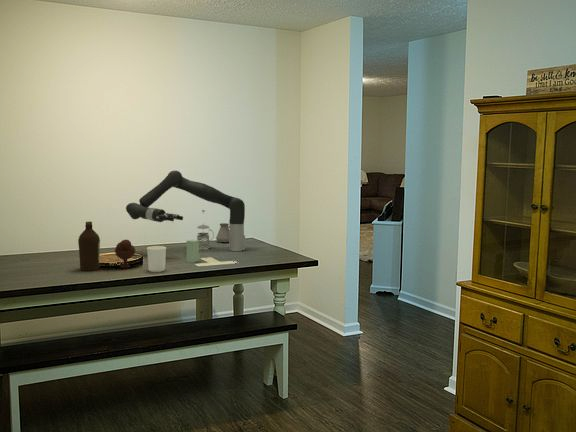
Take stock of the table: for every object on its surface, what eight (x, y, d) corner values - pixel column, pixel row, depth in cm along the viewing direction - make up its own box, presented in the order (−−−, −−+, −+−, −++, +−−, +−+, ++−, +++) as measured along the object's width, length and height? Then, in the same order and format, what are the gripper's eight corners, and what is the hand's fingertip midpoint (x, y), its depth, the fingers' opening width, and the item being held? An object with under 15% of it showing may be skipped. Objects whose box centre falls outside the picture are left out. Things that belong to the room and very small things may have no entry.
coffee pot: (213, 241, 393) (213, 220, 391) (228, 240, 399) (228, 219, 397) (226, 246, 374) (226, 223, 373) (241, 245, 380) (242, 223, 379)
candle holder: (168, 268, 300) (168, 246, 299) (162, 272, 290) (162, 249, 289) (150, 268, 301) (150, 245, 299) (144, 271, 291) (144, 248, 290)
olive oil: (81, 272, 288) (80, 223, 285) (77, 268, 297) (75, 221, 294) (102, 270, 293) (101, 222, 291) (97, 266, 302) (96, 220, 299)
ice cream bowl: (139, 265, 306) (139, 238, 304) (127, 269, 296) (127, 241, 294) (123, 264, 310) (122, 237, 308) (110, 268, 299) (110, 240, 297)
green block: (191, 260, 325) (191, 239, 323) (199, 261, 322) (199, 240, 321) (186, 261, 320) (186, 240, 319) (193, 262, 318) (193, 241, 317)
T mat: (185, 259, 326) (185, 259, 326) (224, 256, 337) (224, 256, 337) (198, 266, 307) (198, 266, 307) (239, 263, 318) (239, 263, 318)
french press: (195, 246, 369) (195, 209, 367) (213, 246, 371) (213, 209, 368) (195, 249, 360) (195, 210, 357) (213, 249, 361) (213, 210, 358)
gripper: (148, 209, 323) (170, 213, 316) (163, 207, 336) (186, 211, 329) (147, 222, 324) (169, 226, 317) (163, 220, 337) (185, 224, 330)
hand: (178, 218), depth 323 cm, fingers open, 8 cm apart
